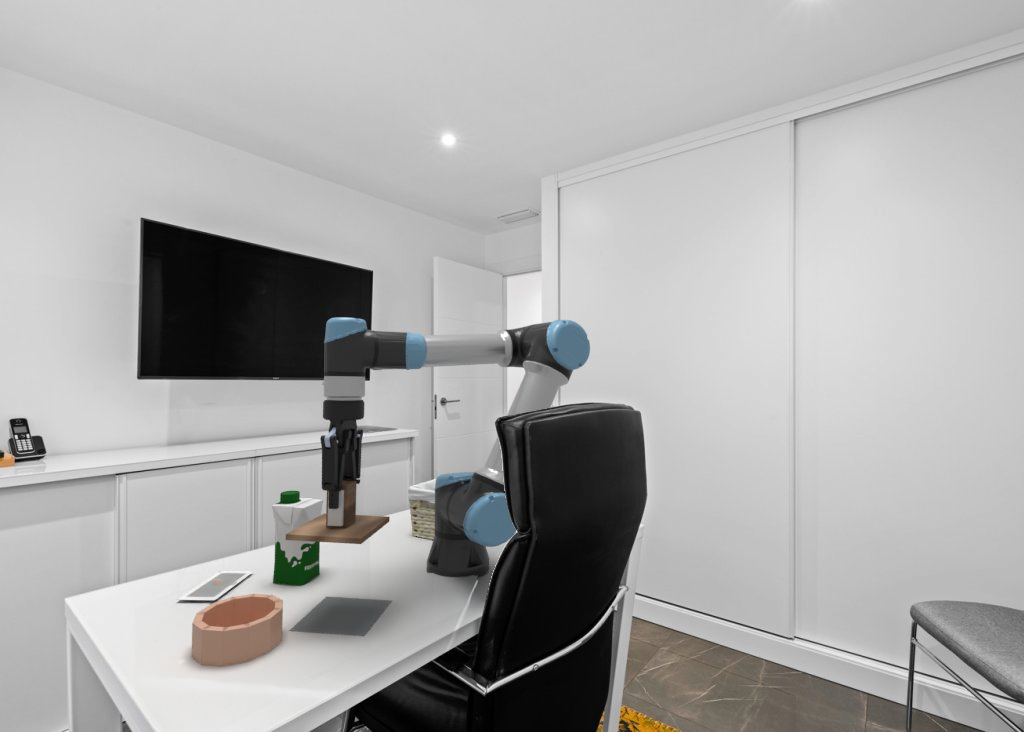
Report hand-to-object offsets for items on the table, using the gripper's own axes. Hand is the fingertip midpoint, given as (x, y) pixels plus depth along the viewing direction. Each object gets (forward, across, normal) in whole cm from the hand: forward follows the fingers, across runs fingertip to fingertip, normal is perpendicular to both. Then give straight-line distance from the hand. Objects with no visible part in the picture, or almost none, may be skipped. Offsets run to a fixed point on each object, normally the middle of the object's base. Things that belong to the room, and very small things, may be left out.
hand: (341, 521), depth 95 cm
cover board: (+2, 0, 0) cm, 2 cm away
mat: (+19, -1, +1) cm, 19 cm away
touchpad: (+20, -11, -33) cm, 40 cm away
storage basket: (+19, -58, +8) cm, 62 cm away
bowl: (+19, +11, -12) cm, 25 cm away
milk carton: (+19, -16, -17) cm, 30 cm away
